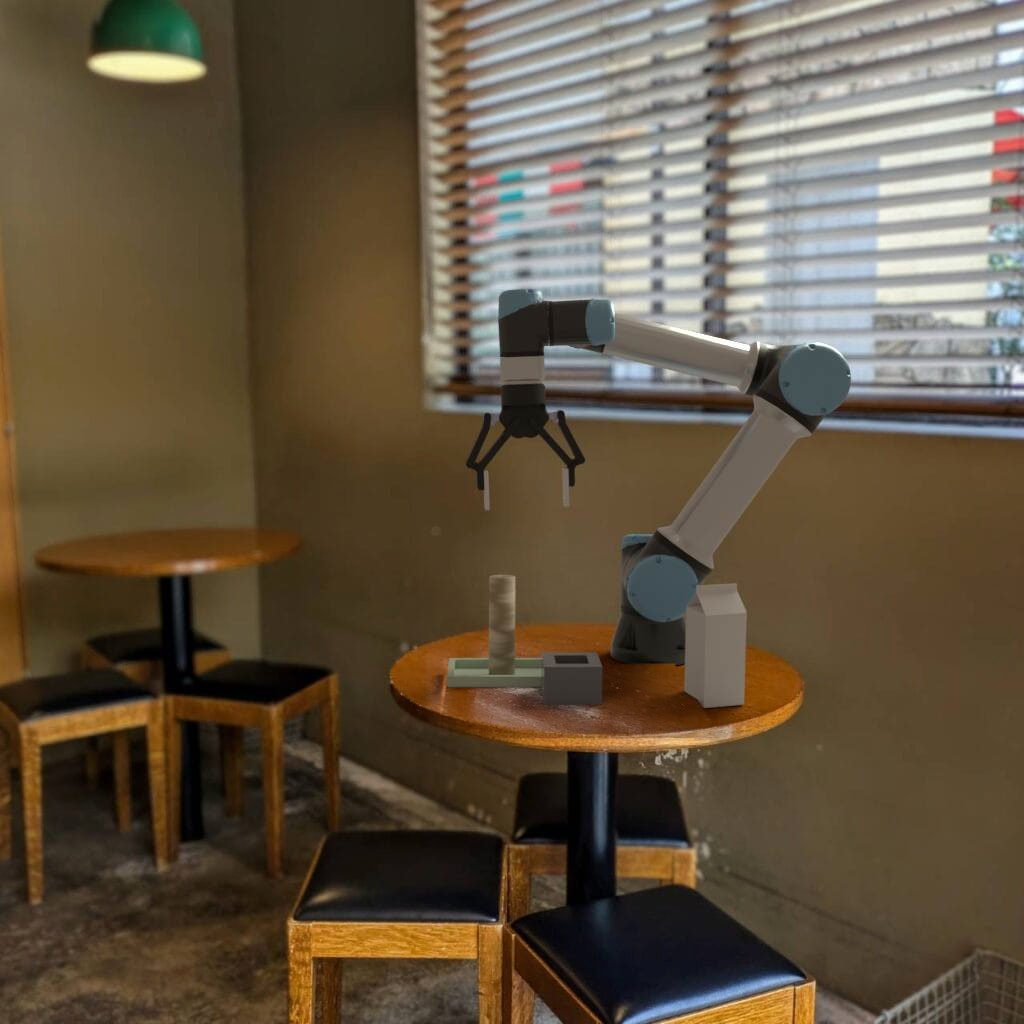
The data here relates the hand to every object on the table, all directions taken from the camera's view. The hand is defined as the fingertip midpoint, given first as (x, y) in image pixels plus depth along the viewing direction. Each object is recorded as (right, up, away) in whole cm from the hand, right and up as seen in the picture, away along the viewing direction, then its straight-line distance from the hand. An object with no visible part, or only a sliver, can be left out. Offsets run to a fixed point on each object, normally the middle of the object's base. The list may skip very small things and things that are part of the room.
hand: (526, 507), depth 188 cm
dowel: (-4, -29, -2) cm, 29 cm away
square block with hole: (+7, -31, -13) cm, 34 cm away
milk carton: (+30, -31, -12) cm, 45 cm away
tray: (-4, -30, -2) cm, 30 cm away
